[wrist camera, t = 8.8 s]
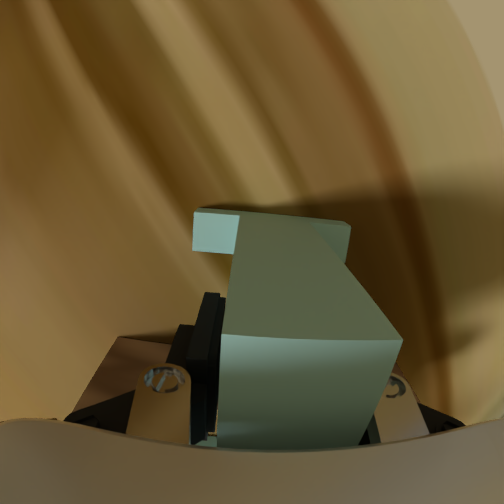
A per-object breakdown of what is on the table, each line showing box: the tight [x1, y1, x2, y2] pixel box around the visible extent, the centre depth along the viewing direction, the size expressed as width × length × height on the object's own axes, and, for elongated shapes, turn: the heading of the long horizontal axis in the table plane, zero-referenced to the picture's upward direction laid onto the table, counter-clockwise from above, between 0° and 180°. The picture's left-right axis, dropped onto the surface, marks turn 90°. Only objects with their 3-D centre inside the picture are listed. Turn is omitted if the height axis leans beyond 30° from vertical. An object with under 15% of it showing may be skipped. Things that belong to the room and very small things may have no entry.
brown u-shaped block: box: [72, 337, 421, 413], centre depth 12 cm, size 14×2×6 cm, turn 85°
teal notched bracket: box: [192, 208, 403, 450], centre depth 11 cm, size 15×6×9 cm, turn 175°
